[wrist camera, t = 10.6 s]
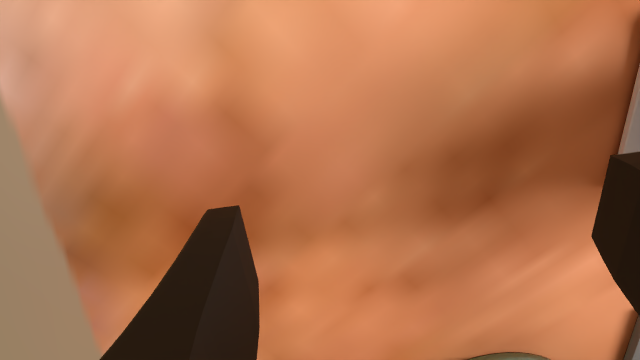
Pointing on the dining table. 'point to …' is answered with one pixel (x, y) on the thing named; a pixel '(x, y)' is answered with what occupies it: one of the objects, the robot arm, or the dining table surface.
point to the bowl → (510, 357)
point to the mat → (634, 344)
